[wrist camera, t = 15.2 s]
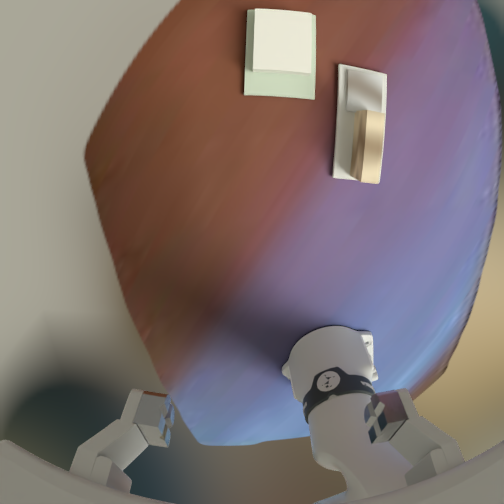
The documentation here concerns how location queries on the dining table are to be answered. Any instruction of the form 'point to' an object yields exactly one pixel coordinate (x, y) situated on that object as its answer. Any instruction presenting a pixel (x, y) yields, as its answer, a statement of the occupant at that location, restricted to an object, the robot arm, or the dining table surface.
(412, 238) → the dining table surface
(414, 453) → the robot arm
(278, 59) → the tile
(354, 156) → the turner
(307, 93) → the mat
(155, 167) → the dining table surface
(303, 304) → the dining table surface
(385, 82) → the pad
